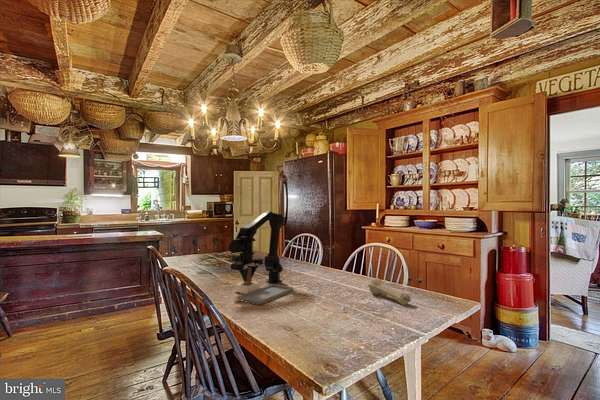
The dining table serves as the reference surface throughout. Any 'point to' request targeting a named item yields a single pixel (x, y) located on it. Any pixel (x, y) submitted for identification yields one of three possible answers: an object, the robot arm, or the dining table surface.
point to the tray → (265, 294)
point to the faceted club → (388, 291)
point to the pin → (248, 277)
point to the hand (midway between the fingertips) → (247, 280)
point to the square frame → (246, 287)
